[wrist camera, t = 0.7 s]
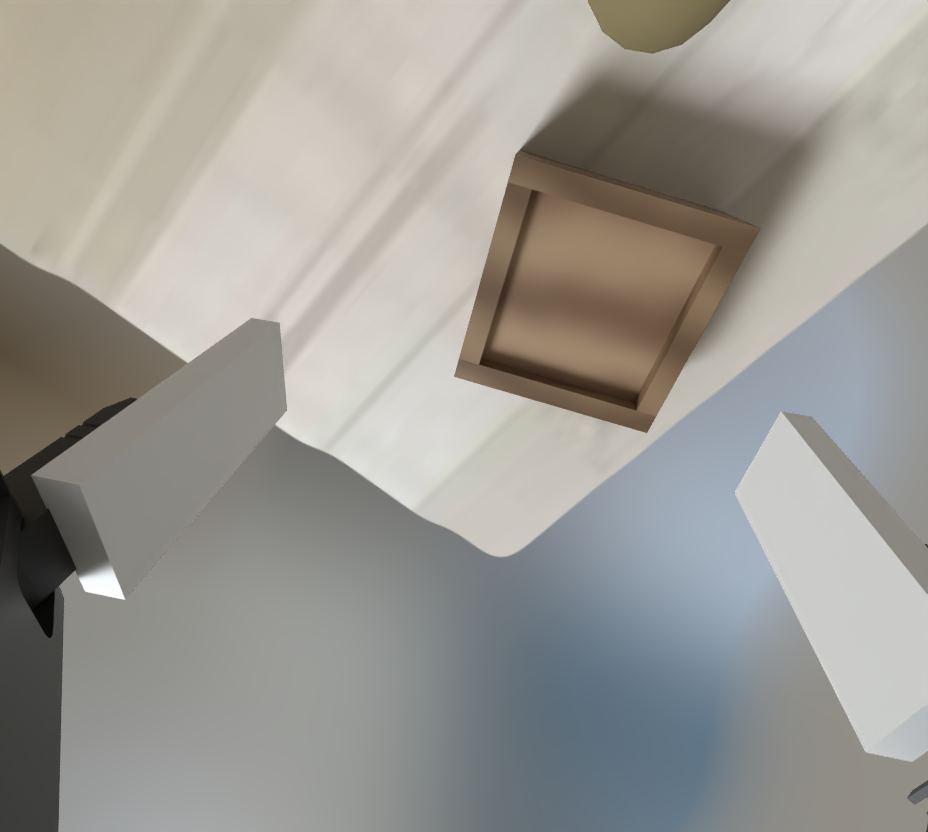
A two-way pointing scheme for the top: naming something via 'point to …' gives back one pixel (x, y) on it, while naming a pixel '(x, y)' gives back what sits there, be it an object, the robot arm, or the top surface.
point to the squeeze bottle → (654, 21)
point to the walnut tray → (596, 291)
